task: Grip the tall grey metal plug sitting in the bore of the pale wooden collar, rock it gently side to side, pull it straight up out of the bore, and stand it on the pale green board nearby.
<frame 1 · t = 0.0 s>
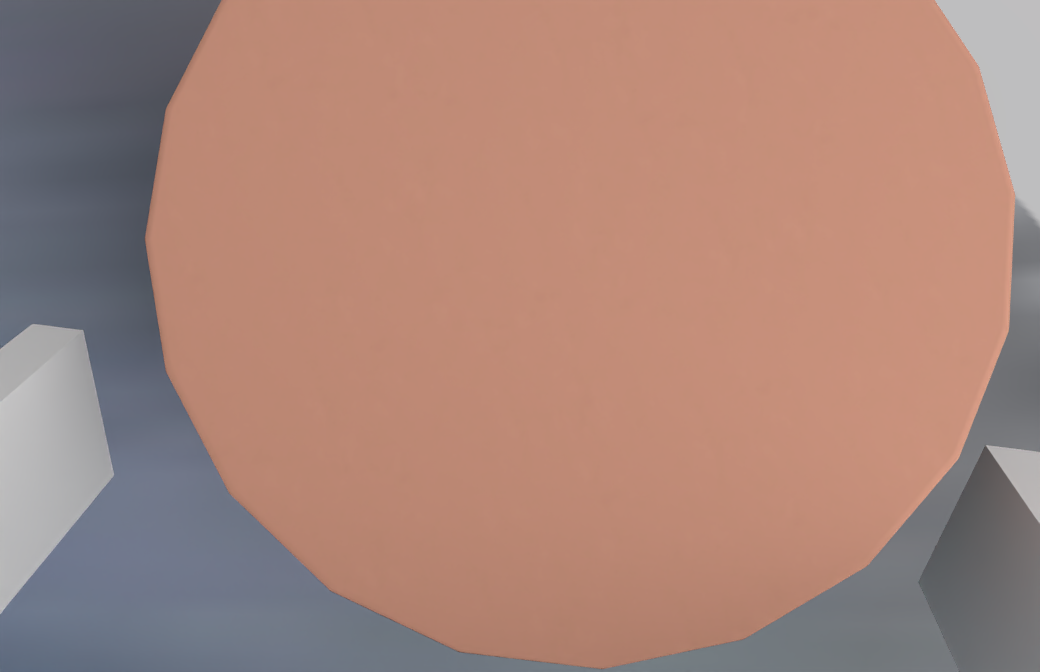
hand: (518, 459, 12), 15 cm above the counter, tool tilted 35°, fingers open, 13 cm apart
coffee jar: (548, 349, 28), on the counter
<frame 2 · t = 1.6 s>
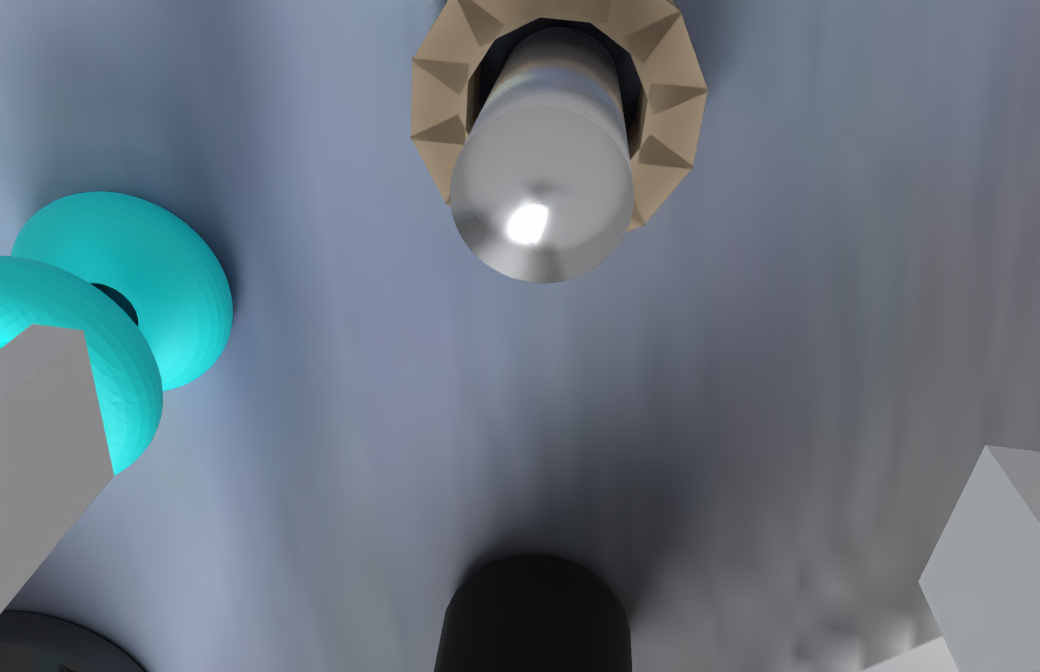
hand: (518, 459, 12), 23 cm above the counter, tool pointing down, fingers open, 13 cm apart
coffee jar: (538, 609, 47), on the counter
donuts: (141, 281, 38), on the counter
plug: (552, 133, 26), in the collar
collar: (559, 90, 32), on the counter
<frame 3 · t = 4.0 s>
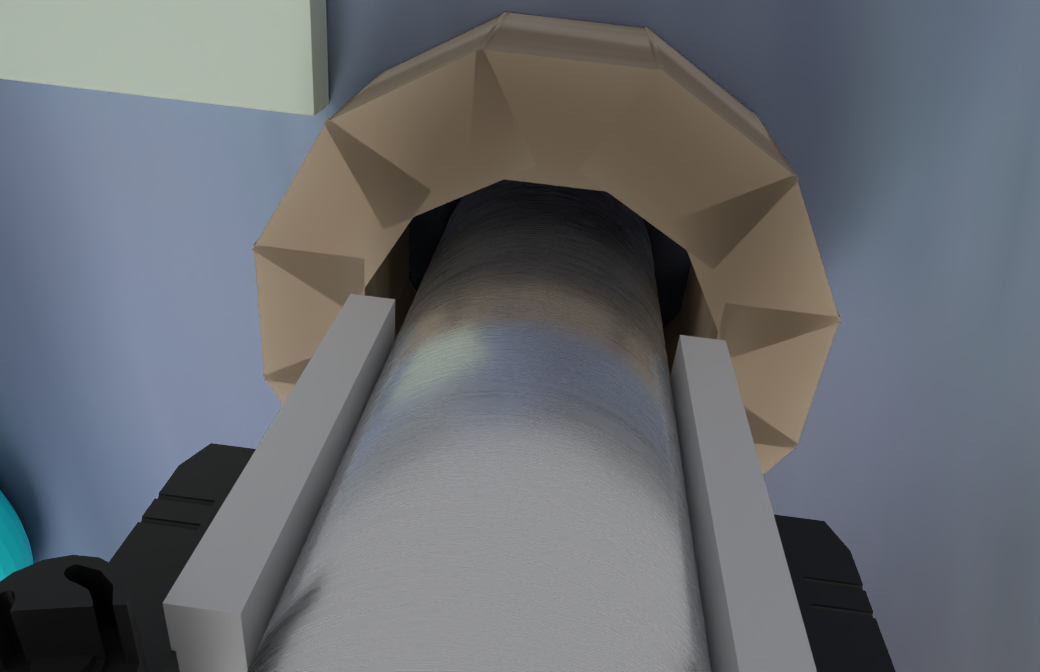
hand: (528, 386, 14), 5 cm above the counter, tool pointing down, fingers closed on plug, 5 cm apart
plug: (521, 433, 12), in the collar, touching gripper
collar: (547, 261, 18), on the counter
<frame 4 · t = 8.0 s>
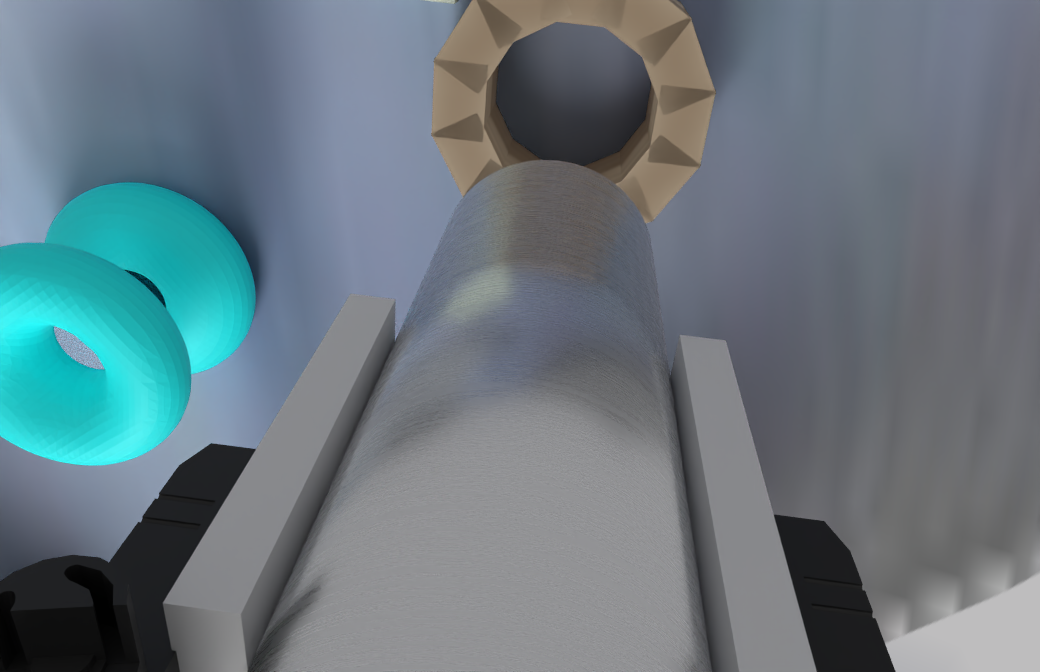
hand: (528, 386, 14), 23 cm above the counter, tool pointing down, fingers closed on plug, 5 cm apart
donuts: (167, 269, 40), on the counter
plug: (522, 433, 12), point 24 cm above the counter, touching gripper
collar: (572, 90, 33), on the counter
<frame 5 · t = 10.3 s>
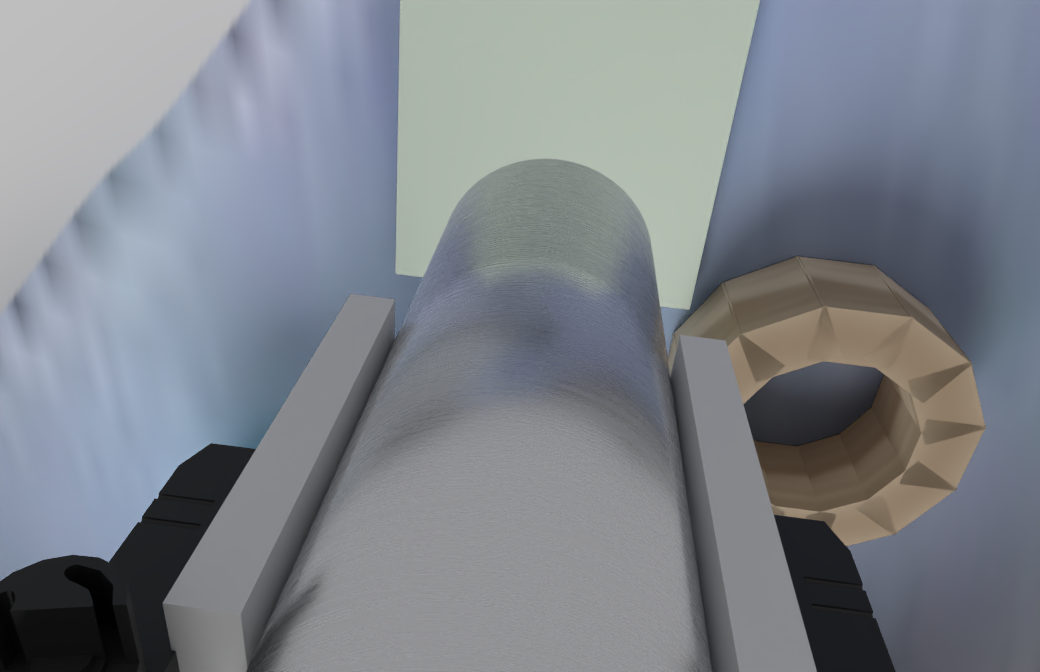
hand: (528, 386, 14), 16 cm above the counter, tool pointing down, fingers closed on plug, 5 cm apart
plug: (522, 431, 12), point 17 cm above the counter, touching gripper
collar: (797, 379, 31), on the counter
board: (560, 138, 27), on the counter
when the fingers open (8 cm above the counter, at t = 12.0 s): plug drops 2 cm, resting on board.
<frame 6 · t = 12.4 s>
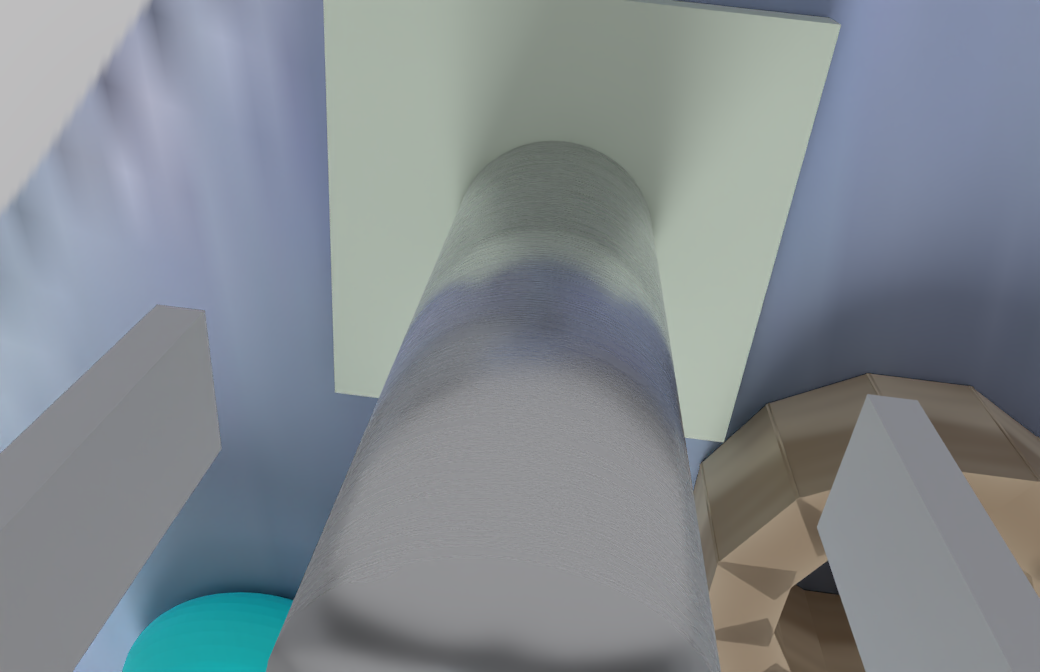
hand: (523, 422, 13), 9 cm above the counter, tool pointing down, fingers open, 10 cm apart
donuts: (276, 663, 31), on the counter
plug: (535, 383, 14), on the board, point 8 cm above the counter
collar: (860, 521, 24), on the counter
board: (552, 221, 20), on the counter
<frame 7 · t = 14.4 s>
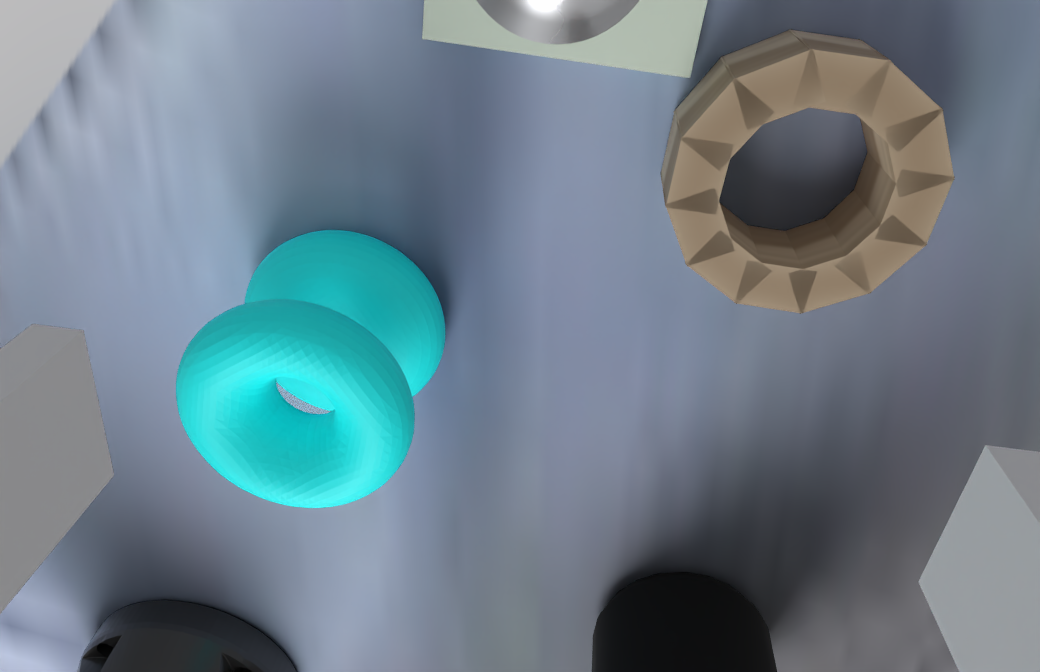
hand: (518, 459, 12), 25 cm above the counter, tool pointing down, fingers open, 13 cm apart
coffee jar: (678, 622, 50), on the counter
donuts: (354, 309, 41), on the counter
collar: (786, 160, 34), on the counter
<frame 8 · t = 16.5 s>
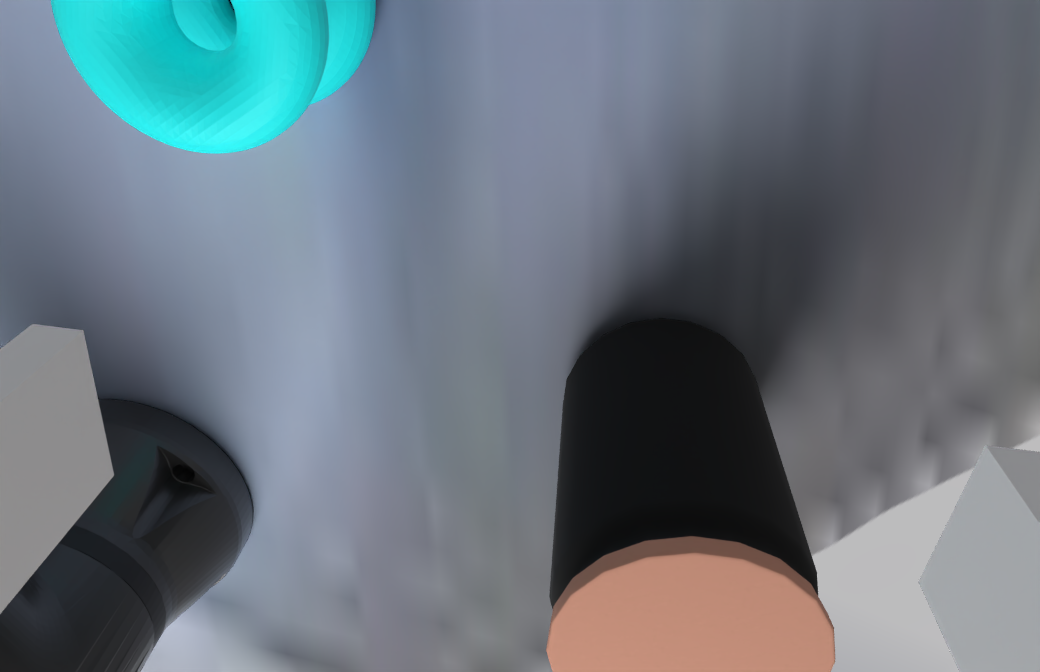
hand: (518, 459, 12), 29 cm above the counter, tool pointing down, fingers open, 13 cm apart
coffee jar: (657, 389, 45), on the counter
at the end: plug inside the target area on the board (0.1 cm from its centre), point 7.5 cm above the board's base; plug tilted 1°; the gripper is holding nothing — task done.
